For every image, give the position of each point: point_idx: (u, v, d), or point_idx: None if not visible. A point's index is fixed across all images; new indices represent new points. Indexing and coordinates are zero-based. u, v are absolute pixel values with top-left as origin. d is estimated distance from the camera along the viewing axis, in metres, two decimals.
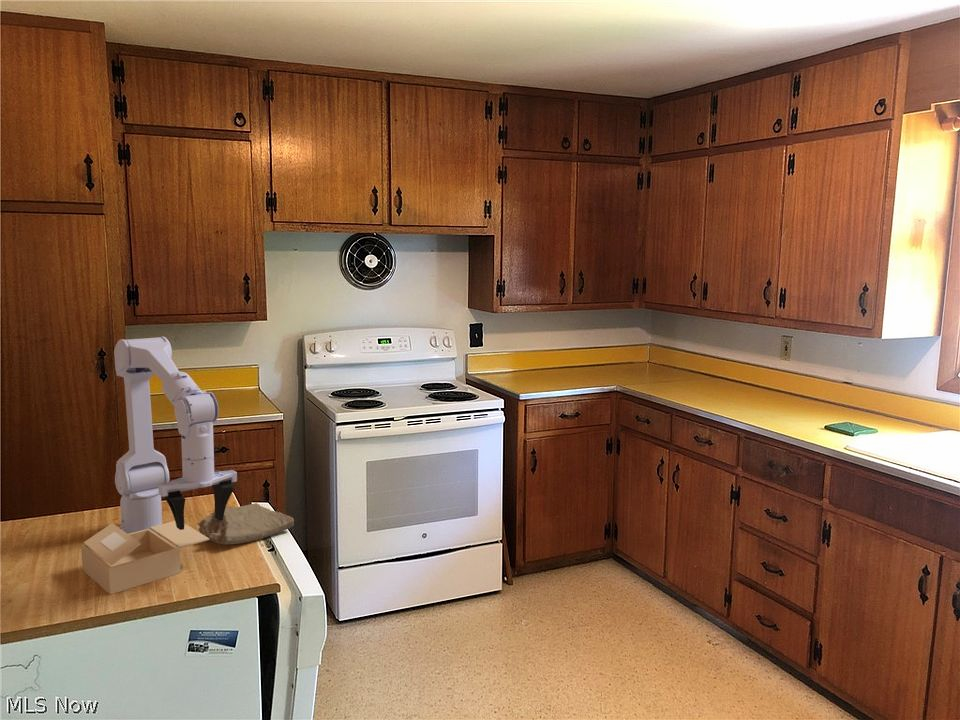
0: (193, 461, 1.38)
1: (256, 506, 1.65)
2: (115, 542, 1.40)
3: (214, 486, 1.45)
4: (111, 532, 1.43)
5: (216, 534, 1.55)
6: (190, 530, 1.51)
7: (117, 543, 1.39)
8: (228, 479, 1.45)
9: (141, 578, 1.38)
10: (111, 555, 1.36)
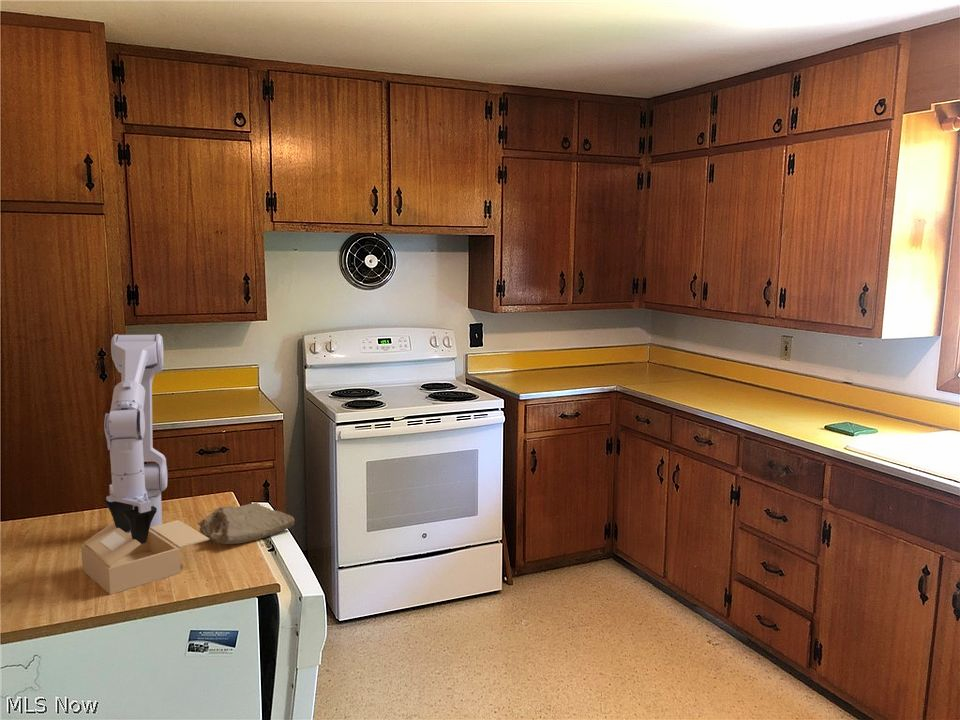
0: None
1: (256, 505, 1.65)
2: (115, 541, 1.40)
3: None
4: (111, 532, 1.43)
5: (217, 534, 1.55)
6: (190, 530, 1.51)
7: (117, 543, 1.39)
8: None
9: (141, 578, 1.38)
10: (111, 555, 1.36)
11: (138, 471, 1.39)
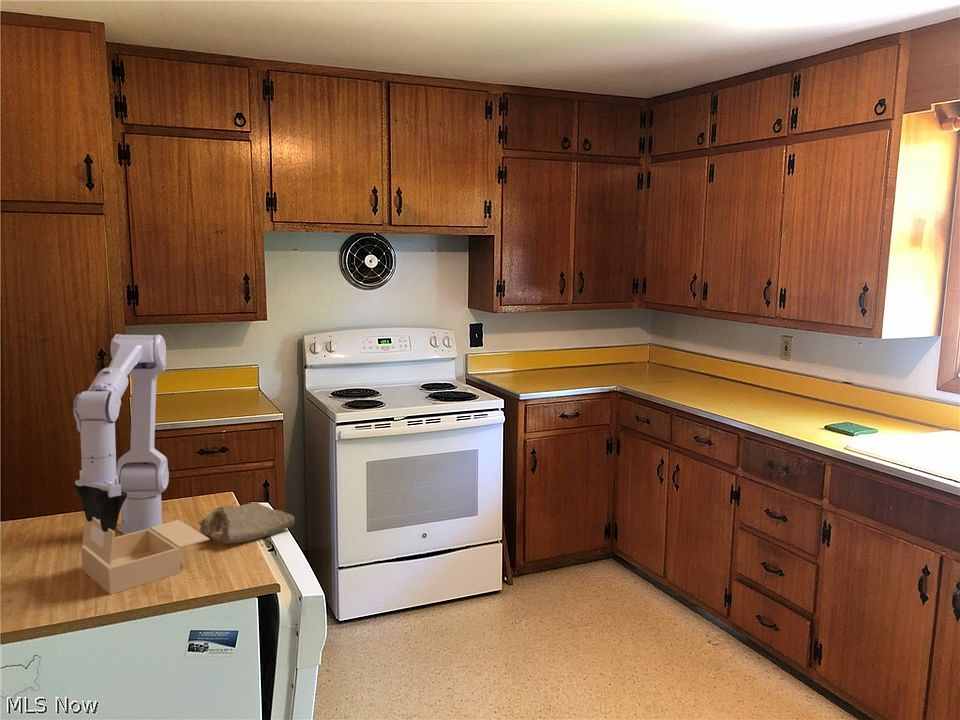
0: None
1: (256, 505, 1.66)
2: (98, 536, 1.37)
3: None
4: (91, 525, 1.40)
5: (218, 533, 1.56)
6: (190, 530, 1.51)
7: (101, 537, 1.37)
8: None
9: (141, 578, 1.38)
10: (104, 553, 1.35)
11: (106, 455, 1.35)
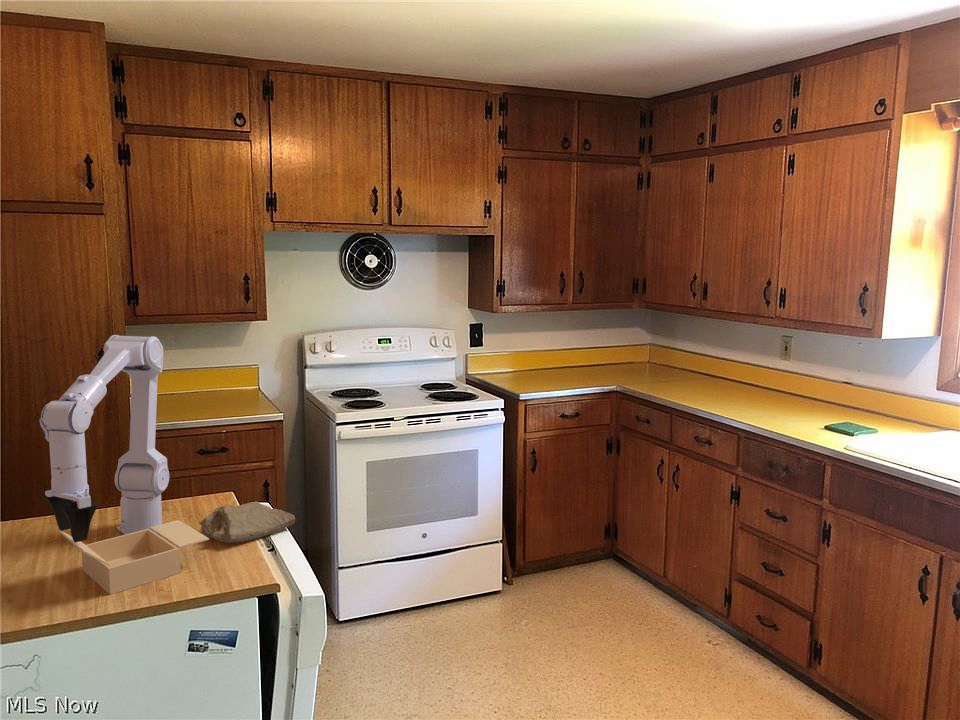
0: None
1: (257, 504, 1.66)
2: None
3: None
4: None
5: (219, 532, 1.56)
6: (190, 530, 1.51)
7: (82, 548, 1.34)
8: None
9: (141, 578, 1.38)
10: None
11: (73, 466, 1.33)
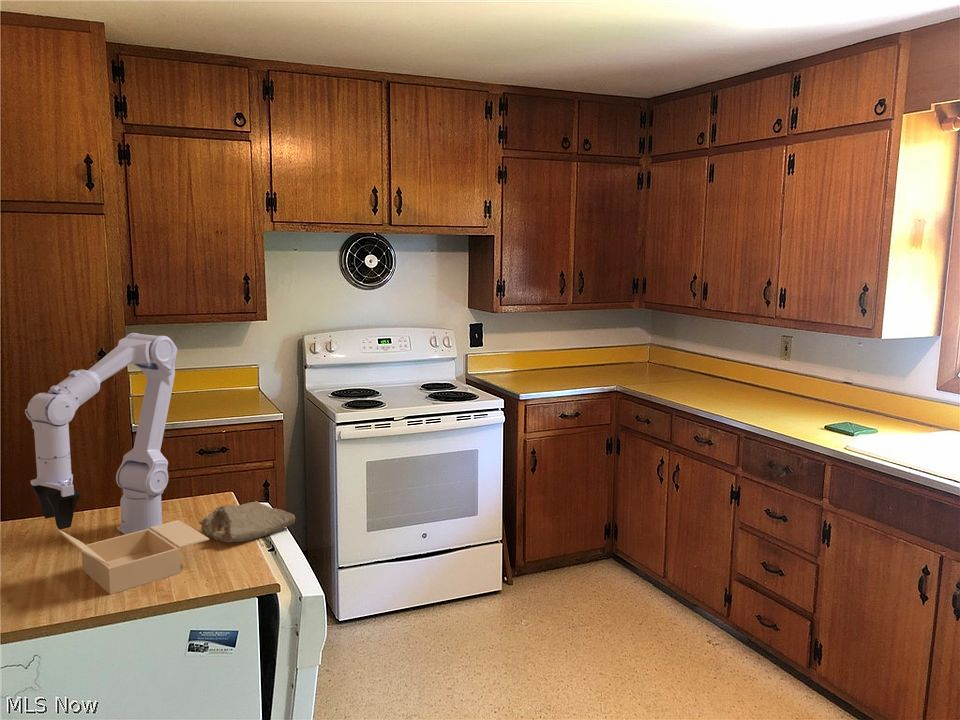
0: None
1: (257, 504, 1.66)
2: None
3: None
4: None
5: (220, 532, 1.56)
6: (190, 530, 1.51)
7: (82, 548, 1.34)
8: None
9: (141, 578, 1.38)
10: None
11: (51, 457, 1.38)
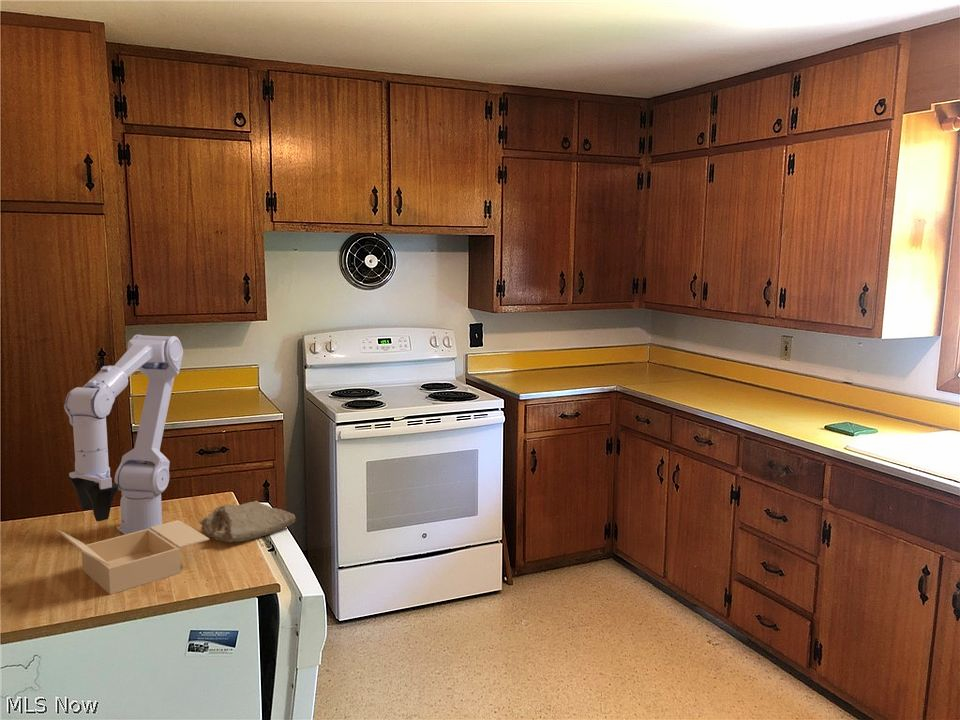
0: None
1: (257, 504, 1.67)
2: None
3: None
4: None
5: (220, 532, 1.56)
6: (190, 530, 1.51)
7: (82, 548, 1.34)
8: None
9: (141, 578, 1.38)
10: None
11: (95, 449, 1.40)
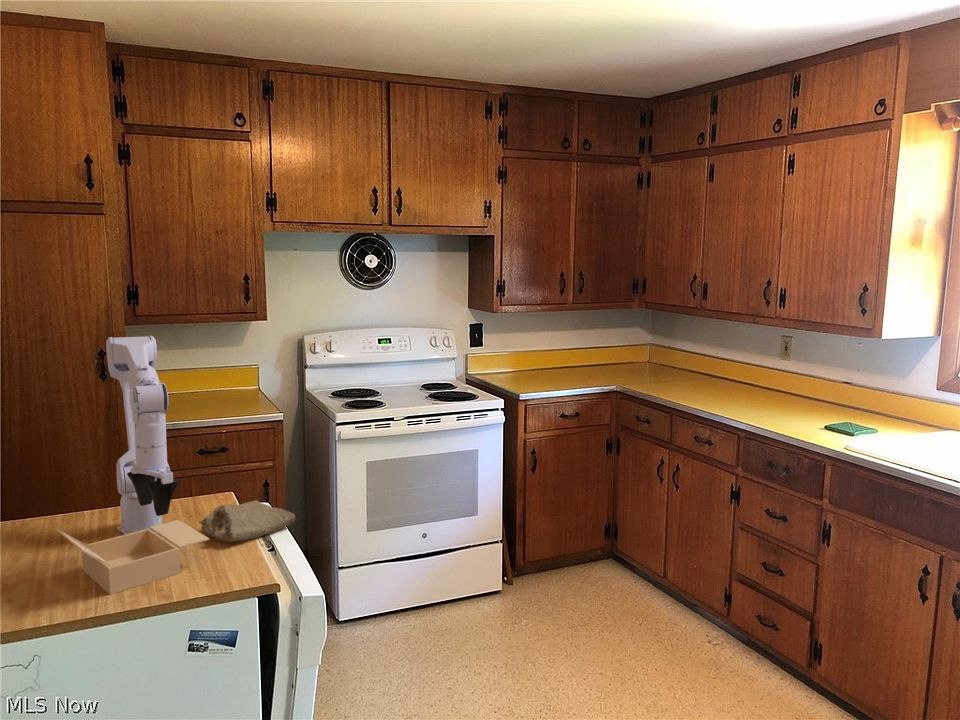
0: None
1: (257, 503, 1.67)
2: None
3: None
4: None
5: (221, 532, 1.56)
6: (190, 530, 1.51)
7: (82, 548, 1.34)
8: None
9: (141, 578, 1.38)
10: None
11: (163, 443, 1.46)
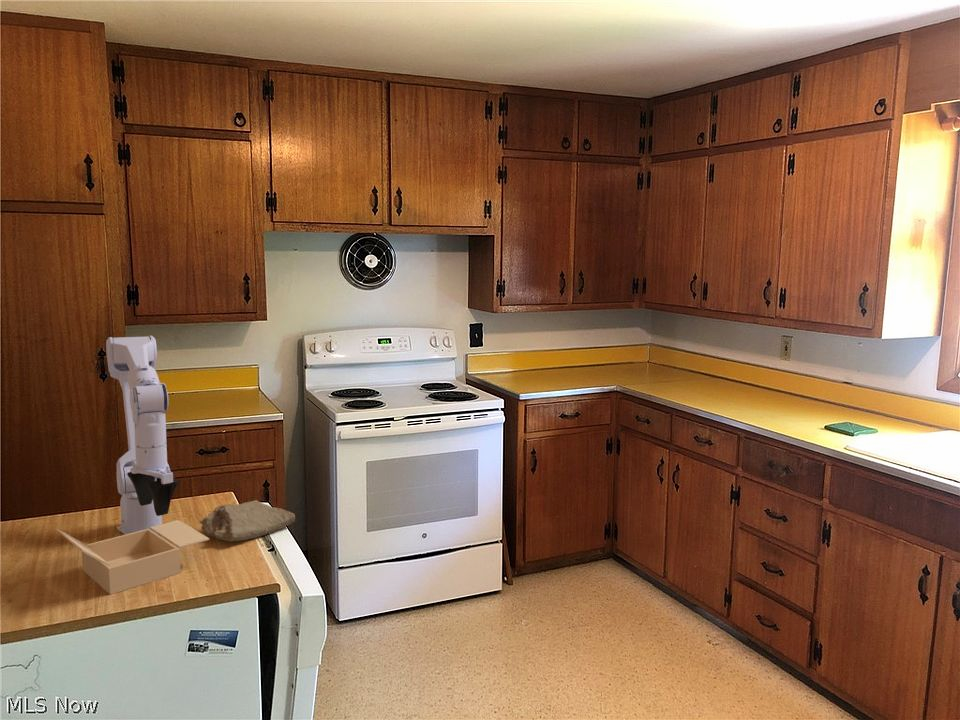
0: None
1: (257, 503, 1.67)
2: None
3: None
4: None
5: (221, 531, 1.57)
6: (190, 530, 1.51)
7: (82, 548, 1.34)
8: None
9: (141, 578, 1.38)
10: None
11: (163, 443, 1.46)
